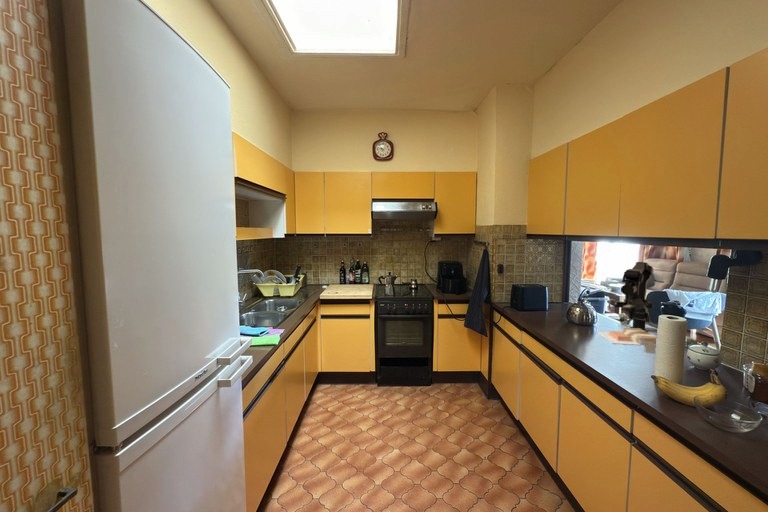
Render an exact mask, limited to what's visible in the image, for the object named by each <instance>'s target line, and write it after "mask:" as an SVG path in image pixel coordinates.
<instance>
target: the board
mask: <svg viewBox="0 0 768 512" xmlns="http://www.w3.org/2000/svg"><path fill="white" fill-rule="evenodd" d="M622 333H624V334H626V335H628V336H629V337H630V339H632V340H634V341H635V342H637V343H639V344H640V345H639V346H643V345H642V344H641V342H640V340H639V338H638V336H642V338H643V340H644V342H645V343H647V344H648V342H652V343H654V344H655V345H656V337H657V336H656V335H653V334H652V333H650V332H649V331H648V332H646V331H644V330H642V329H637V328H630V327H623V328H622Z"/></svg>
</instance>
